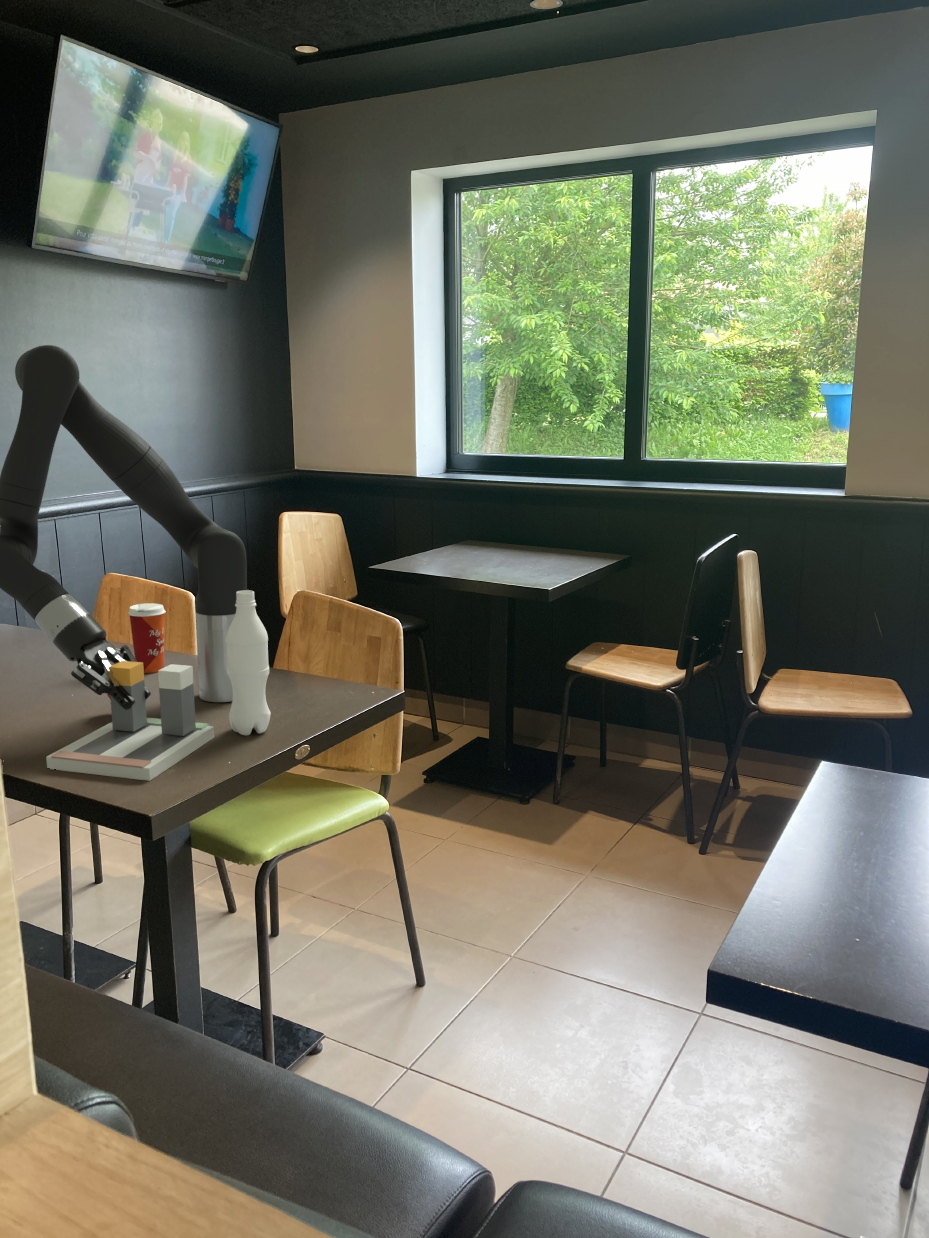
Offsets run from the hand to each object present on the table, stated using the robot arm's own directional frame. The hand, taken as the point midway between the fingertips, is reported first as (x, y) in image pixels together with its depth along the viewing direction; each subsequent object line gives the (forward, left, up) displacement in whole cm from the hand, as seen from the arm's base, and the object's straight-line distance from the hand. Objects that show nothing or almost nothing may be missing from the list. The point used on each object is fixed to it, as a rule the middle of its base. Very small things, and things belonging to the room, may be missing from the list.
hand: (138, 701), depth 157 cm
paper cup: (-12, -44, -7) cm, 46 cm away
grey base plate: (+2, +5, -7) cm, 9 cm away
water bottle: (-18, +4, -7) cm, 20 cm away
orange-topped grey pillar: (+1, -1, -5) cm, 5 cm away
